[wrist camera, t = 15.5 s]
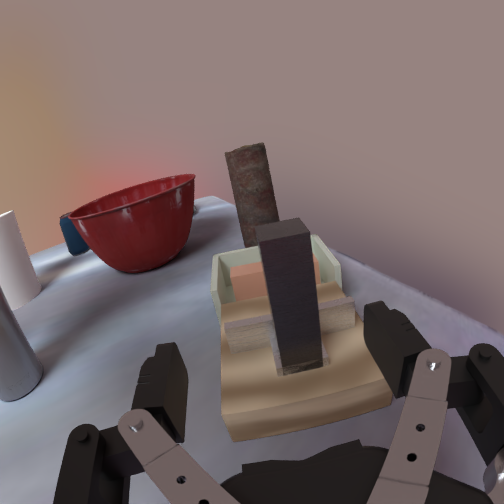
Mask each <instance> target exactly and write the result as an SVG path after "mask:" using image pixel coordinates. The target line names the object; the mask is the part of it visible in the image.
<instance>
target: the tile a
mask: <svg viewBox="0 0 504 504" xmlns="http://www.w3.org/2000/svg"><path fill="white" fill-rule="evenodd" d="M230 278H231V282H232V286H233V290H234V295H235V299H236V302H237V301H242V300H247V299H252V298H257V297H262V296H267V290H266V285H265V279H264V274H263V269H262V263H261V262H256V263H251V264H245V265H240V266H235V267H231V270H230Z"/></svg>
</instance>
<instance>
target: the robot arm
mask: <svg viewBox="0 0 504 504" xmlns="http://www.w3.org/2000/svg"><path fill="white" fill-rule="evenodd" d="M363 336H364V341H365V344H366V347H367V348H368V350H369V352H370V354H371V355H372V357H373V359H374V361H375V362H376V364H377V366H378V367H379V369H380V371H381V373H382V375H383V376H384V378H385V380H386V382H387V383H388V385H389V387H390V389H391V391H392V392H393V394H394V396H395V398H396V399H398V398H400V397H403V396H405V397H406V400H405V404H404V407H403V410H402V414H401V417H400V420H399V423H398V426H397V429H396V432H395V435H394V438H393V441H392V444H391V446H390V449H386V448H381V447H375V446H362V445H361V443H360V440H359V439H358V440H355V441H351V442H348V443H344V444H341V445H337V446H333V447H330V448H328V449H326V450H324V451H322V452H320V453H318V454H316V455H314V456H312V457H310V458H307V459H305V460H300V461H288V460H269V461H263V462H256V463H249V464H242V473H239V474H237V475H234V476H232V477H231V478H229V479H227V480H226V481H224V482H223V483H222V484H220V485H219V484H218V483H217V482H216V481H215V480H214V479H213V478H212V477H211V476H210V475H209V474H208V473H207V472H206V471H205V470H204V469H203V468H202V467H201V466H200V465H199V464H198V463H197V462H196V461H195V460H194V459H193V458H192V457H191V456H190V455H189V454H188V453H187V452H186V451H185V450H184V449H183V448H182V447H181V446H180V445H179V444H176V443H183V442H184V437H185V421H186V406H187V393H188V374H187V370H186V367H185V364H184V362H183V359H182V357H181V354H180V352H179V349H178V347H177V345H176V343H175V342H172V343H165V344H158V345H157V347H156V352H155V356H154V357H149V358H147V360H146V361H145V362H144V364H143V365H142V366H141V370H140V374H139V378H138V382H137V383H138V385H137V386H136V391H135V395H134V399H133V403H132V408H131V411H129V412H127V413H125V414H124V415H123V416H122V417H121V418H120V420H119V422H118V425H117V426H114V427H111V428H107V429H104V430H100V431H99V430H98V429H97V428H96V427H95V426H94V425H91V424H82V425H80V426H78V427H76V428H75V429H73V430H72V432H71V433H70V435H69V437H68V441H67V445H66V449H65V453H64V456H63V460H62V465H61V469H60V473H59V477H58V482H57V487H56V491H55V496H54V501H53V504H129V489H130V476H131V475H135V474H138V473H141V472H145V471H146V473H147V474H148V475H149V477H150V478H151V479H152V481H153V482H154V483H155V484H156V486H157V487H158V488H159V489H160V491H161V492H162V493H163V494H164V496H165V497H166V498H167V499H168V501H169V502H170V503H171V504H504V357H503V356H502V355H501V353H500V352H499V351H498V350H497V349H496V348H495V347H494V346H492V345H490V344H485V343H481V344H476V345H474V346H473V347H472V348H471V349H470V352H469V355H467V356H458V357H450V356H449V355H448V354H447V353H446V352H444V351H442V350H440V349H432V348H431V346H430V345H429V344H428V343H427V341H426V340H425V339H424V338H423V336H422V335H421V334H420V333H419V331H418V330H417V329H415V326H414V325H413V324H412V323H410V320H409V319H408V318H407V317H406V315H405V314H403V313H401V312H400V311H398V310H396V309H393V310H389V308H388V307H387V306H386V305H385V303H384V302H383V301H378V302H374V303H370V304H366V305H365V306H364V327H363ZM42 373H43V367H42V365H41V363H40V362H39V360H38V358H37V357H36V355H35V353H34V351H33V350H32V348H31V346H30V344H29V342H28V341H27V339H26V337H25V335H24V333H23V331H22V330H21V328H20V326H19V324H18V322H17V320H16V318H15V316H14V314H13V312H12V310H11V308H10V306H9V304H8V302H7V299H6V297H5V295H4V293H3V291H2V288H1V286H0V399H1V400H2V401H13V400H16V399H19V398H21V397H23V396H24V395H26V394H27V393H29V392H30V391H31V390H32V389H33V388H34V387H35V386H36V385H37V383H38V382H39V381H40V379H41V377H42ZM450 408H456V410H457V412H458V413H459V415H460V417H461V419H462V420H463V422H464V424H465V426H466V428H467V429H468V431H469V433H470V435H471V437H472V439H473V440H474V442H475V444H476V446H477V448H478V450H479V452H480V454H481V456H482V458H483V460H484V462H485V464H486V465H487V468H486V469H485V472H484V475H483V482H484V485H485V486H484V487H485V492H483V491H482V490H480V489H477V488H475V487H472V486H470V485H467V484H465V483H462V482H460V481H457V480H455V479H453V478H450V477H448V476H446V475H443V474H441V473H439V472H436V471H434V470H433V468H434V465H435V461H436V457H437V453H438V449H439V445H440V440H441V436H442V431H443V427H444V422H445V416H446V411H447V409H450Z"/></svg>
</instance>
